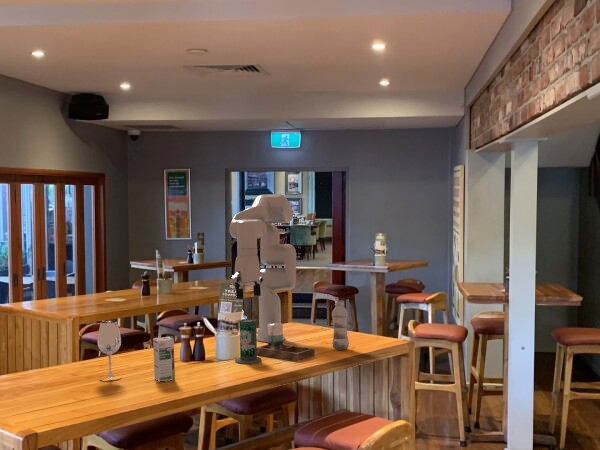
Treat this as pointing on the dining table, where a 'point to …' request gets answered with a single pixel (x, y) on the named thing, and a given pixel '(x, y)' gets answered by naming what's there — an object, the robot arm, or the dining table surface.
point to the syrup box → (164, 359)
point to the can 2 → (275, 336)
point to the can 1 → (248, 340)
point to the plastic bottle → (340, 326)
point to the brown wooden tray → (287, 352)
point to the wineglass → (109, 340)
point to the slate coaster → (247, 361)
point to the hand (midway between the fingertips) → (248, 297)
